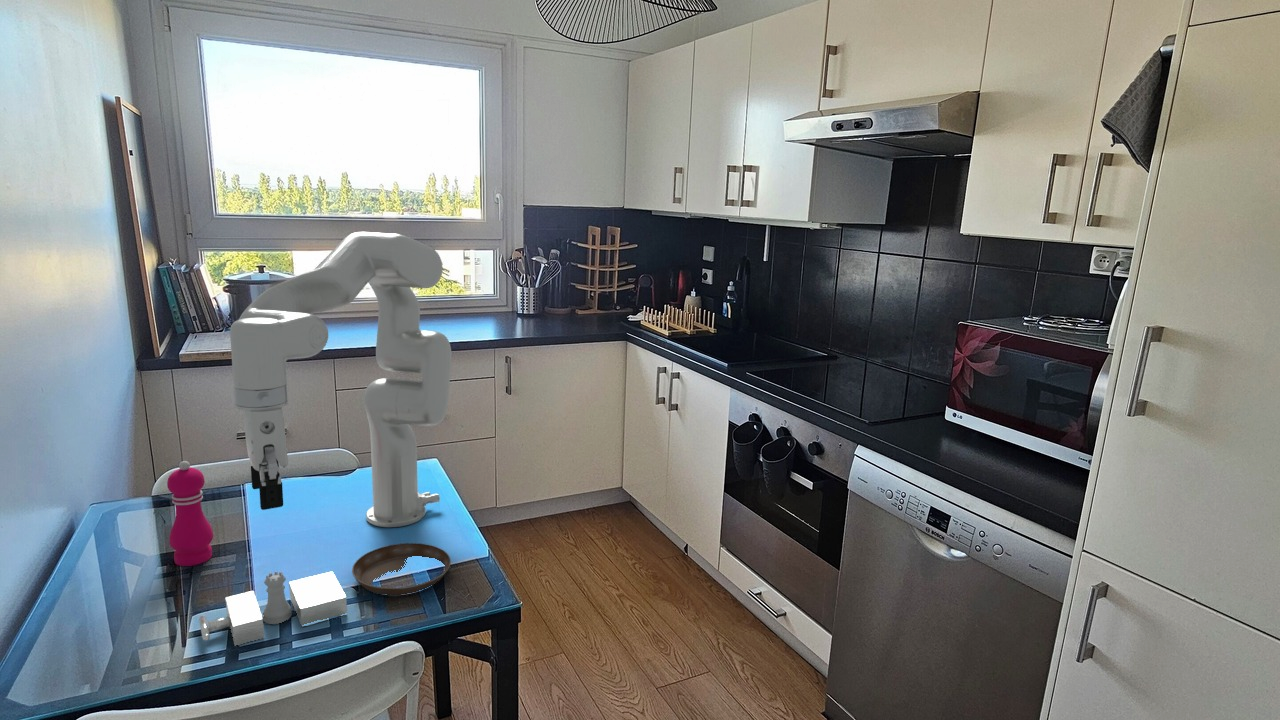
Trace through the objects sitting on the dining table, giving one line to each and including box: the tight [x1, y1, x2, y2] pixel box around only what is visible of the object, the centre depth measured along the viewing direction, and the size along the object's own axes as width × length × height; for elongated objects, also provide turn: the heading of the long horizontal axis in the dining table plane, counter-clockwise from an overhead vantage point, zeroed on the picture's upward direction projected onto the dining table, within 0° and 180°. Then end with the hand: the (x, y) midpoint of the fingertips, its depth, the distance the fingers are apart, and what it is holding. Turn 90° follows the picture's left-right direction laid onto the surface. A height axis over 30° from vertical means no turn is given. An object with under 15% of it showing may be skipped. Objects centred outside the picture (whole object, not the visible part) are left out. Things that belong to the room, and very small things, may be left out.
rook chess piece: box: [262, 571, 293, 625], centre depth 122 cm, size 4×4×8 cm
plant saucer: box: [351, 542, 452, 595], centre depth 138 cm, size 18×18×3 cm
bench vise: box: [198, 571, 348, 647], centre depth 123 cm, size 21×10×4 cm, turn 125°
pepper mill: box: [166, 460, 214, 567], centre depth 139 cm, size 7×7×20 cm
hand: (267, 497), depth 119 cm, fingers open, 9 cm apart
